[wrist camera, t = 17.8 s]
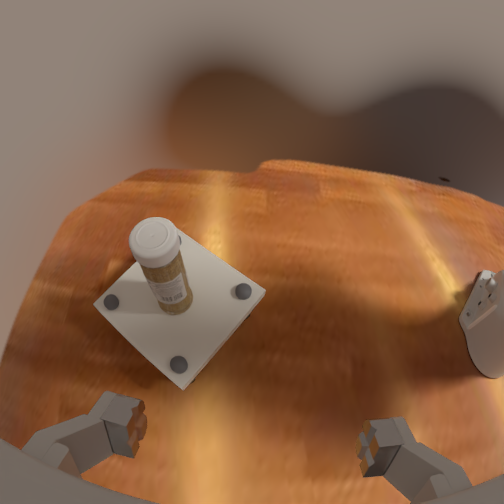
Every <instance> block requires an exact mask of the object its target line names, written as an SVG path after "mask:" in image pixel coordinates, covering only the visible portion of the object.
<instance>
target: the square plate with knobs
mask: <svg viewBox="0 0 504 504" xmlns="http://www.w3.org/2000/svg"><path fill="white" fill-rule="evenodd" d="M176 229H177V228H176ZM177 232H178V236H179V240H180V252H181V256H182V259H183V263H184V267H185V269H186V272H187V276H188V279H189V284H190V288H191V290H192V293H193V302H192V304H191V306H190V308H189V309H188V310H187V311H185V312H184V313H181V314H177V315H171V314H168V313H166V312H164V311H163V310H162V309H161V308H160V306H159V304H158V301H157V299H156V297H155V296H154V294H153V292H152V290H151V288H150V286H149V284H148V282H147V280H146V278H145V276H144V274H143V271H142V268H141V266H140V264H139V263H138V262H137V261H136V262H135V263H134V264H133V265H132V266H131V267H130V268H129V269H128V270H127V271H126V272H125V273H124V274H123V275H122V276H121V277H120V278H119V279H118V280H117V281H116V282H115V283H114V284H113V285H112V286H111V287H110V288H109V289H108V290H107V291H106V292H105V293H104V294H103V295H102V296H101V297H100V298H99V299H98V300H97V301H96V302H95V303H94V304H93V305H94V306H95V307H96V308H97V310H98V311H99V312H100V313H101V314H102V315H103V316H104V317H105V318H106V319H107V320H108V321H109V322H110V323H111V324H112V325H113V326H114V327H115V328H116V329H117V330H118V331H119V332H120V333H121V334H122V335H123V336H124V337H125V338H126V339H127V340H128V341H129V342H130V343H131V344H132V345H133V346H134V347H135V348H136V349H137V350H138V351H139V352H140V353H141V354H142V355H143V356H144V357H145V358H147V359H148V360H149V361H150V362H151V363H152V364H153V365H154V366H155V367H156V368H158V369H159V370H160V371H161V372H162V373H163V374H164V375H165V376H167V377H168V378H169V379H170V380H171V381H172V382H174V383H175V384H176V385H177V386H178V387H179V388H181V389H182V390H183V391H184V390H185V388H186V387H187V386H188V385H189V384H191V383H192V382H194V380H195V379H196V376H197V375H198V374H199V372H200V371H201V370H202V369H203V368H204V367H205V366H206V364H207V363H208V362H209V361H210V360H211V359H212V357H213V356H214V355H215V354H216V353H217V352H218V350H219V349H220V348H221V347H222V346H223V345H224V343H225V342H226V341H227V340H228V339H229V338H230V336H231V335H232V334H233V333H234V332H235V330H236V329H237V328H238V327H239V326H240V324H241V323H242V322H243V321H244V320H245V319H247V318H248V317H249V316H250V312H251V311H252V310H253V309H254V308H255V306H256V305H257V304H258V303H259V302H260V300H261V299H262V298H263V297H264V295H265V292H266V290H265V289H263V288H262V287H261V286H259V285H258V284H256V283H255V282H253V281H252V280H250V279H249V278H247V277H246V276H245V275H243V274H242V273H240V272H239V271H237V270H236V269H234V268H233V267H231V266H230V265H229V264H227V263H226V262H224V261H223V260H221V259H220V258H219V257H217V256H216V255H214V254H213V253H211V252H210V251H209V250H207V249H206V248H204V247H203V246H201V245H200V244H199V243H197V242H196V241H194V240H193V239H191V238H190V237H189V236H187V235H186V234H184V233H183V232H182V231H180V230H179V229H177Z"/></svg>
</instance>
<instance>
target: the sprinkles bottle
mask: <svg viewBox="0 0 504 504" xmlns="http://www.w3.org/2000/svg"><path fill="white" fill-rule="evenodd" d="M129 246H130V249H131V251H132V254H133V256H134V258H135V259H136V261H137V262H138V263H139V264H140V266H141V268H142V271H143V274H144V276H145V278H146V280H147V282H148V284H149V286H150V288H151V290H152V292H153V294H154V296H155V297H156V299H157V301H158V304H159V306H160V308H161V309H162V310H163V311H164V312H166V313H168V314H171V315H177V314H181V313H184V312H185V311H187V310H188V309H189V308H190V306H191V304H192V302H193V293H192V290H191V288H190V284H189V279H188V276H187V272H186V269H185V267H184V263H183V259H182V256H181V252H180V240H179V236H178V232H177V229H176V227H175V226H174V224H173V223H172V222H171V221H169V220H167V219H165V218H162V217H152V218H147V219H145V220H143V221H141V222H140V223H138V224H137V225H136V226H135V227H134V228H133V230H132V231H131V233H130V236H129Z"/></svg>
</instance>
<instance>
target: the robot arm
mask: <svg viewBox="0 0 504 504" xmlns="http://www.w3.org/2000/svg"><path fill="white" fill-rule="evenodd" d="M467 315H468V316H467ZM459 322H460V325H461V327H462V329H463V331H464V333H465V335H466V340H467V346H468V350H469V353H470V356H471V358H472V360H473V362H474V364H475V366H476V367H477V368H478V369H479V371H480V372H481V373H483V374H484V375H486V376H487V377H490V378H499V377H501V376H503V375H504V270H501V271H499V272H498V273H494V272H492V271H488V270H483V271H482V272H481V273H480V275H479V277H478V279H477V281H476V283H475V286H474V288H473V290H472V292H471V294H470V296H469V298H468V300H467V302H466V304H465V306H464V308H463V310H462V312H461V314H460V316H459ZM144 410H145V404H144V401H143V400H140V399H136V398H132V397H128V396H125V395H121V394H116V393H113V392H110V391H105V392H104V393H103V394H102V396H101V397H100V398H99V400H98V401H97V402H96V404H95V405H94V407H93V408H92V409H91V411H90V412H89V413H88V415H85V414H83V415H80V416H78V417H75V418H73V419H70V420H67V421H65V422H62V423H59V424H56V425H54V426H51V427H48V428H45V429H42V430H39V431H36V432H35V434H34V435H33V436H32V437H31V438H30V440H29V441H28V442H27V443H26V445H25V446H24V447H23V448H22V450H20V449H18V448H17V447H15V446H13V445H11V444H10V443H8V442H6V441H5V440H3V439H1V438H0V504H159V503H155V502H151V501H147V500H143V499H140V498H136V497H133V496H129V495H126V494H123V493H119V492H116V491H113V490H110V489H107V488H104V487H102V486H99V485H96V484H93V483H91V482H88V481H86V480H83V478H82V476H81V474H82V473H83V472H85V471H87V470H88V469H90V468H92V467H93V466H95V465H97V464H98V463H100V462H101V461H103V460H105V459H106V458H108V457H109V456H111V455H113V453H115V454H119V455H122V456H126V457H130V458H135V456H136V453H137V451H138V449H139V447H140V446H139V441H140V440H142V439H143V438H144V436H145V433H146V429H147V417H146V415H145V414H144V413H143V412H144ZM362 428H363V432H362V433H360V434H359V435H358V438H357V440H356V454H357V457H358V458H359V459H361V460H362V461H361V463H360V468H361V472H362V475H363V477H374V476H383V477H384V478H385V479H387V480H388V481H389V482H390V483H391V484H392V485H393V486H394V487H395V488H396V489H397V490H399V491H400V492H401V493H402V494H403V495H404V496H405V497H406V498H407V499H409V500H410V501H411V503H410V504H504V474H502V475H500V476H498V477H495V478H493V479H491V480H488V481H486V482H483V483H481V484H478V485H476V486H472V484H471V482H470V481H469V479H468V477H467V475H466V473H465V472H464V470H463V468H462V467H461V466H459V465H458V464H456V463H454V462H452V461H451V460H449V459H447V458H445V457H444V456H442V455H440V454H439V453H437V452H435V451H433V450H432V449H430V448H428V447H427V446H425V445H423V444H422V443H417V442H416V440H415V438H414V436H413V434H412V432H411V430H410V429H409V427H408V425H407V423H406V421H405V419H404V417H402V416H399V417H390V418H379V419H366V420H365V421H364V423H363V426H362Z"/></svg>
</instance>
